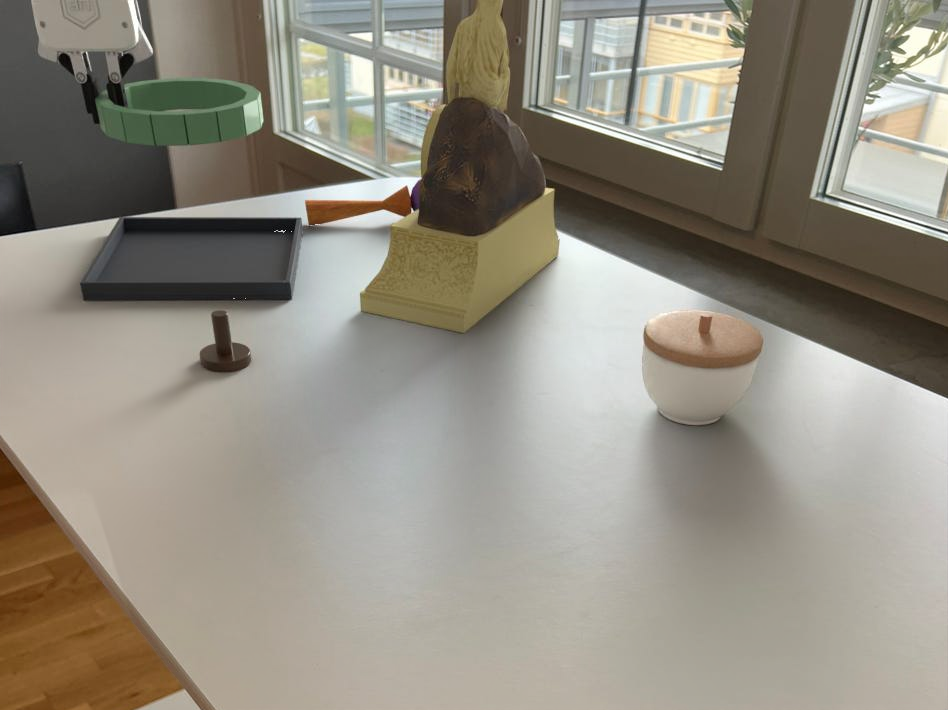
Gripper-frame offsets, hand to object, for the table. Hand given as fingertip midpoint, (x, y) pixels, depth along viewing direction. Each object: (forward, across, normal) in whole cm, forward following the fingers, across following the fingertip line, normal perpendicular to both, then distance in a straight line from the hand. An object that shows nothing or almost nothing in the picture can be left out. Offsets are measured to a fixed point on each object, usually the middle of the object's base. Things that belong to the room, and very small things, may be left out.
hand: (109, 119), depth 110 cm
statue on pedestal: (+17, +40, -6) cm, 43 cm away
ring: (+1, +8, 0) cm, 8 cm away
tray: (+16, +8, 0) cm, 18 cm away
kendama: (+17, +30, +15) cm, 37 cm away
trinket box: (+16, +58, -40) cm, 73 cm away
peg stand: (+16, +14, -28) cm, 35 cm away
